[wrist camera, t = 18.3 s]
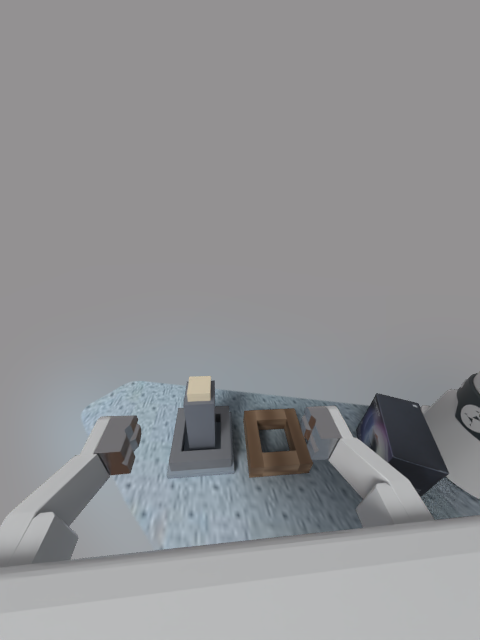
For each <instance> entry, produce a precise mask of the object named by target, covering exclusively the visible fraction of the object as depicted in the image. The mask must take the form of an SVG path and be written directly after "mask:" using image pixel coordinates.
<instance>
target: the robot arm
mask: <svg viewBox="0 0 480 640" xmlns="http://www.w3.org/2000/svg"><path fill="white" fill-rule="evenodd" d="M420 408H421V411H422V413H423V415H424V417H425V420H426V422H427V424H428V426H429V429H430V431H431V433H432V435H433V438H434V440H435V442H436V444H437V447H438V449H439V451H440V453H441V456H442V458H443V460H444V462H445V465H446V467H447V469H448V471H449V474H448V475H447V476H446V477H447V478H448V479H449V480H451V481H452V482H453V483H454V484H456V485H457V486H458V487H460V488H461V489H463V490H464V491H466V492H467V493H469V494H471V495H472V496H474V497H476V498H478V499H480V372H479V373H476V374H473V375H471V376H470V377H469V378H468V379H467V380H465V381H464V382H463V384H462V385H461V387H460V388H459V389H458V390H452V389H450V390H448V391H446V393H444V394H443V395H442V396H441V397H440V398H439V399H438V400H437V401H436V402H435V403H434V404H433V405H432V406H426V405H424V406H422V407H420ZM304 414H305V415H304V416H303V417H302V418H301V430H302V434H303V437H304V438H306V439H307V440H308V443H307V448H308V451H309V454H310V457H311V460H327V459H329V461H330V463H331V464H332V465H333V466H334V467H335V468H336V469H337V470H338V472H339V473H340V474H341V475H342V476H343V477H344V478H345V479H346V481H347V482H348V483H349V484H350V485H351V486H352V487H353V488H354V490H355V491H356V492H357V493H358V494H359V495H360V496H361V497H362V499H363V500H362V501H361V503H360V504H359V505H358V506H357V508H356V512H357V514H358V517H359V519H360V522H361V524H362V526H363V528H357V529H348V530H339V531H330V532H321V533H311V534H302V535H293V536H284V537H275V538H265V539H256V540H247V541H238V542H229V543H220V544H210V545H201V546H192V547H183V548H174V549H164V550H155V551H147V552H137V553H128V554H119V555H109V556H100V557H91V558H82V559H74V560H70V559H71V556H72V553H73V551H74V548H75V546H76V543H77V541H78V535H77V534H76V533H75V532H74V531H73V530H72V529H71V528H70V527H69V526H70V524H71V523H72V522H73V521H74V520H75V518H76V517H77V516H78V515H79V514H80V512H81V511H82V510H83V509H84V508H85V506H86V505H87V504H88V503H89V502H90V500H91V499H92V498H93V497H94V495H95V494H96V493H97V492H98V491H99V489H100V488H101V487H102V486H103V485H104V483H105V482H106V481H107V480H108V478H109V477H110V476H109V475H119V474H129V473H131V470H132V466H133V463H134V460H135V455H134V451H135V450H136V449H137V448H138V447H139V443H140V439H141V427H140V425H139V424H137V422H138V418H137V416H136V415H135V416H106V417H100V418H99V419H98V420H97V422H96V424H95V426H94V428H93V430H92V432H91V434H90V435H89V437H88V439H87V441H86V443H85V445H84V447H83V449H82V451H81V453H80V455H76V456H74V457H73V458H72V459H71V460H70V461H69V462H67V463H66V464H65V465H64V466H63V467H62V468H61V469H59V470H58V471H57V472H56V473H55V474H54V475H53V476H51V477H50V478H49V479H48V480H47V481H46V482H45V483H44V484H42V485H41V486H40V487H39V488H38V489H37V490H35V491H34V492H33V493H32V494H31V495H30V496H29V497H27V498H26V499H25V500H24V501H23V502H22V503H20V504H19V505H18V506H17V507H16V508H15V509H14V510H13V511H11V512H10V513H9V514H8V515H7V517H6V518H5V520H4V522H3V523H2V525H1V526H0V640H480V515H477V516H467V517H458V518H449V519H440V520H435V519H434V518H433V516H432V515H431V513H430V512H429V510H428V509H427V507H426V505H425V504H424V502H423V501H422V499H421V498H420V496H419V495H418V493H417V492H416V490H415V489H414V487H413V485H412V484H411V482H410V481H409V480H408V479H407V478H406V477H405V476H403V475H402V474H401V473H400V472H398V471H397V470H396V469H395V468H394V467H392V466H391V465H390V464H389V463H387V462H386V461H385V460H384V459H382V458H381V457H380V456H379V455H378V454H376V453H375V452H374V451H373V450H371V449H370V448H369V447H368V446H366V445H365V444H364V443H363V442H362V441H360V440H359V439H358V438H354V437H353V435H352V433H351V432H350V430H349V428H348V426H347V424H346V423H345V421H344V419H343V417H342V415H341V413H340V412H339V410H338V408H337V407H336V406H318V407H306V408H305V409H304Z"/></svg>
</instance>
